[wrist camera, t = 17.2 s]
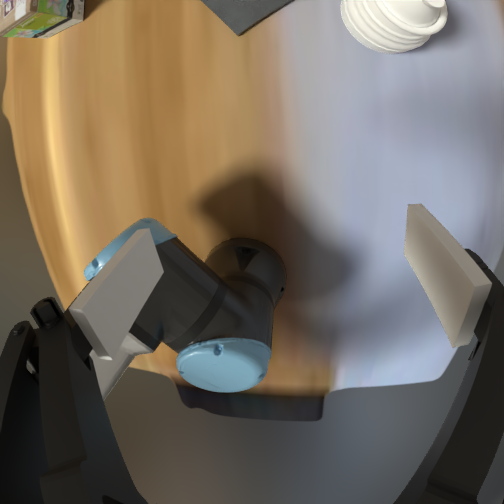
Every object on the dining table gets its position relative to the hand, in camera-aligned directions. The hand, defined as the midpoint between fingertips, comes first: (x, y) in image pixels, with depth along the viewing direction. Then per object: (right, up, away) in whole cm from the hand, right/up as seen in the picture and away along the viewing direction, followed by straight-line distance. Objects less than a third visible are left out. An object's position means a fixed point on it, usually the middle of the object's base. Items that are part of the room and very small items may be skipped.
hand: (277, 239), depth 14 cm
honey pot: (+18, +34, +15) cm, 41 cm away
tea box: (-35, +46, +15) cm, 60 cm away
